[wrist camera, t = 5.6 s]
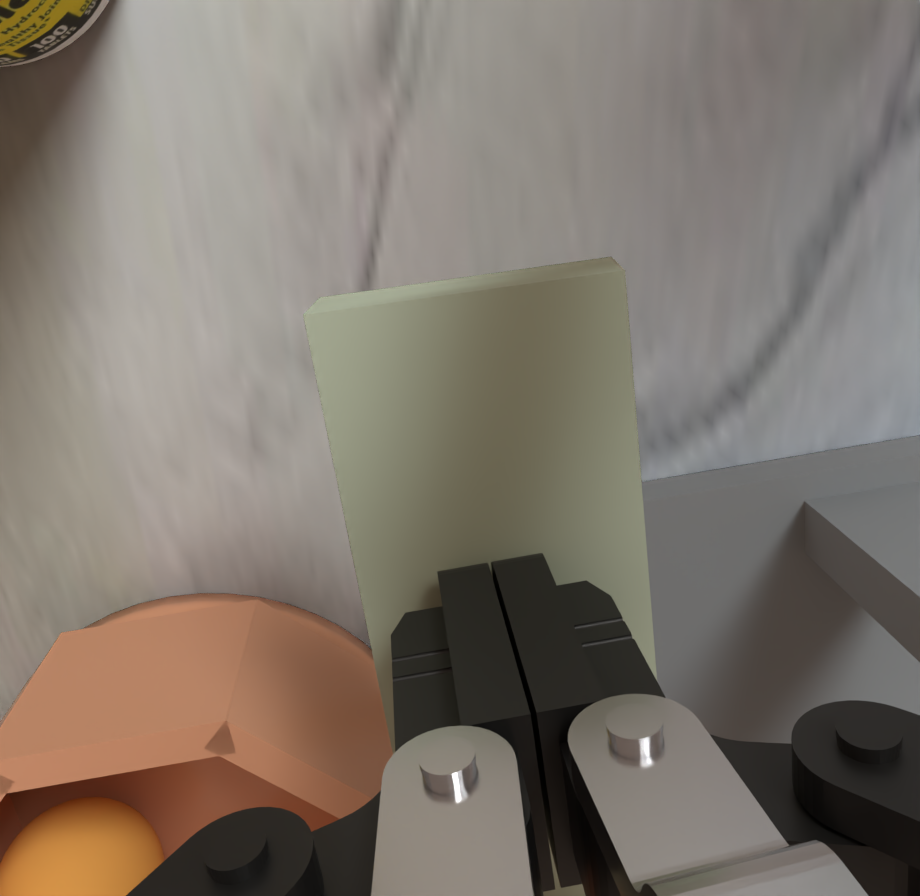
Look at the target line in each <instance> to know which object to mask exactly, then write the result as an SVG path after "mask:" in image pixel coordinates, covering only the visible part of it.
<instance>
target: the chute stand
mask: <svg viewBox="0 0 920 896" xmlns="http://www.w3.org/2000/svg"><path fill="white" fill-rule="evenodd" d="M642 494H643V507H644V520H645V533H646V545H647V558H648V571H649V584H650V596H651V609H652V622H653V635H654V648H655V660H656V673H657V682H658V684H659V686H660V688H661V690H662V691H663V693H664V695H665V697H666V698H667V699H670V700H672V701H675V702H677V703H679V704H681V705H683V706H685V707H686V708H687V709H689V710H690V711H691V712H693V713H694V715H695V716H696V717H697V718H698V719H699V720H700V722H701V723H702V725H703V726H704V727H705V729H706V730H707V732H708V733H709V734H711V735H714V736H717V737H721V738H725V739H730V740H736V741H746V742H765V743H788V744H791V736H792V730H793V727H794V725H795V723H796V722H797V721H798V719H799V718H800V717H801V716H802V715H804V714H805V713H806V712H808V711H809V710H811V709H813V708H815V707H818V706H820V705H823V704H827V703H831V702H837V701H846V700H860V701H871V702H877V703H882V704H887V705H890V706H894V707H897V708H900V709H903V710H906V711H909V712H912V713H915V714H917V715H920V435H919V436H913V437H907V438H901V439H895V440H889V441H883V442H877V443H871V444H865V445H859V446H853V447H847V448H842V449H836V450H830V451H824V452H818V453H812V454H806V455H800V456H794V457H788V458H782V459H776V460H770V461H764V462H758V463H752V464H746V465H740V466H734V467H728V468H722V469H716V470H711V471H705V472H699V473H693V474H687V475H681V476H675V477H669V478H663V479H657V480H651V481H645V482H642Z"/></svg>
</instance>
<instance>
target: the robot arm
mask: <svg viewBox="0 0 920 896" xmlns="http://www.w3.org/2000/svg"><path fill="white" fill-rule="evenodd" d="M491 566H492V575H493V579H492V575H491V572H490V568H489V565H488V563H482V564H476V565H470V566H465V567H459V568H453V569H448V570H442V571H437V574H438V581H439V587H440V594H441V600H442V606H440V607H434V608H429V609H423V610H418V611H412V612H406V613H405V614H404V615H403V617H402V618H401V620H400V622H399V623H398V625H397V626H396V628H395V629H394V631H393V633H392V634H391V655H392V678H393V706H394V732H395V753H394V754H393V755H392V757H391V758H390V759H389V761H388V762H387V764H386V766H385V769H384V772H383V776H382V784H381V790H380V791H379V792H378V794H377V795H376V796H375V797H374V798H372V799H371V800H370V801H369V802H368V803H366V804H365V805H364V806H362V807H361V808H359V809H358V810H356V811H355V812H353V813H351V814H349V815H347V816H345V817H343V818H341V819H339V820H337V821H334V822H332V823H330V824H328V825H325V826H323V827H321V828H319V829H316V830H314V831H312V832H311V830H310V828H309V826H308V825H307V823H306V822H305V821H304V820H303V819H302V818H301V817H300V816H299V815H297V814H295V813H293V812H291V811H289V810H285V809H282V808H275V807H256V808H249V809H244V810H241V811H237V812H234V813H231V814H228V815H226V816H223V817H221V818H219V819H217V820H215V821H213V822H211V823H210V824H208V825H206V826H205V827H203V828H202V829H200V830H199V831H198V832H196V833H195V834H194V835H193V836H192V837H190V838H189V839H188V840H187V841H186V842H185V843H184V844H182V845H181V846H180V847H179V848H178V849H177V850H176V851H175V852H174V853H172V854H171V855H170V856H169V857H168V858H167V859H166V860H165V861H164V862H163V863H161V864H160V865H159V866H158V867H157V868H156V869H155V870H154V871H153V872H151V873H150V874H149V875H148V876H147V877H146V878H145V879H144V880H143V881H141V882H140V883H139V884H138V885H137V886H136V887H135V888H134V889H133V890H131V891H130V892H129V893H128V894H127V895H126V896H543V892H545V891H550V890H555V882H554V875H553V868H552V861H551V854H550V847H551V851H552V855H553V859H554V863H555V867H556V871H557V875H558V879H559V882H560V886H561V888H564V887H569V886H574V885H579V884H582V885H583V888H584V892H585V895H586V896H920V715H917V714H915V713H912V712H909V711H906V710H903V709H900V708H897V707H894V706H890V705H887V704H882V703H877V702H871V701H860V700H846V701H837V702H831V703H827V704H823V705H820V706H818V707H815V708H813V709H811V710H809V711H808V712H806V713H805V714H804V715H802V716H801V717H800V718H799V719H798V721H797V722H796V723H795V725H794V727H793V730H792V736H791V744H788V743H765V742H746V741H736V740H730V739H725V738H721V737H717V736H714V735H711V734H709V733H708V732H707V730H706V729H705V727H704V726H703V725H702V723H701V722H700V720H699V719H698V718H697V717H696V716H695V715H694V713H693V712H691V711H690V710H689V709H687V708H686V707H685V706H683V705H681V704H679V703H677V702H675V701H672V700H670V699H667V698H666V697H665V695H664V693H663V691H662V690H661V688H660V686H659V684H658V682H657V680H656V678H655V677H654V675H653V673H652V671H651V669H650V667H649V665H648V664H647V662H646V660H645V658H644V656H643V654H642V652H641V651H640V649H639V647H638V645H637V643H636V641H635V639H633V638H632V634H631V632H630V630H629V628H628V626H627V625H626V623H625V621H623V618H622V615H621V613H620V612H619V610H618V608H617V606H616V604H615V602H614V600H613V599H612V597H611V595H609V594H607V593H606V592H604V591H603V590H601V589H599V588H598V587H596V586H595V585H593V584H591V583H590V582H588V581H587V580H586V581H580V582H574V583H569V584H563V585H556V583H555V580H554V578H553V576H552V573H551V571H550V569H549V566H548V564H547V562H546V559H545V557H544V555H543V553H538V554H532V555H526V556H521V557H515V558H509V559H504V560H498V561H492V562H491ZM549 844H550V847H549Z"/></svg>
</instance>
